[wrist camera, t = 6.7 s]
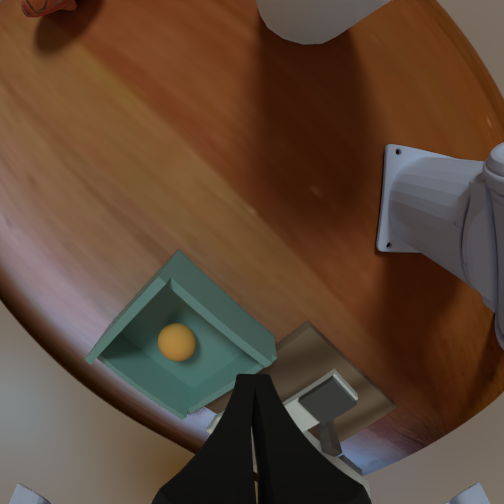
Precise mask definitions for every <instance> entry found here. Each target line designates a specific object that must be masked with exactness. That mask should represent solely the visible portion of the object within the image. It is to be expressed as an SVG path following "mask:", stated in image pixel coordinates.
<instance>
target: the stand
mask: <svg viewBox="0 0 504 504" xmlns="http://www.w3.org/2000/svg"><path fill="white" fill-rule="evenodd" d="M275 348H276V355H277V359H276V360H275V361H273V362H272V364H271V365H269V366H268V367H264V368H263V369H262V370H260V371H259V372H257V373H256V374H269V375H270V376H271V379H272V382H273V384H274V387H275V389H276V391H277V393H278V395H279V397H280V399H281V401H282V402H284V401H286V400H287V399H289V398H291V397H292V396H294V395H295V394H297V393H299V392H300V391H302V390H303V389H305V388H306V387H308V386H309V385H311V384H312V383H314V382H315V381H317V380H318V379H320V378H321V377H323V376H324V375H326V374H327V373H329V372H330V371H331V370H333V369H335V370H336V371H337V372H338V373H339V374H340V375H341V376H342V377H343V378H344V380H345V381H346V382H347V383H348V384H349V385H350V386H351V387H352V388H353V389H354V391H355V392H356V393H357V395H358V399H357V400H356V403H357V405H356V406H354V407H353V408H351V409H350V410H348V411H346V412H345V413H343V414H342V415H340V416H338V417H337V418H335V419H333V420H332V421H330V422H328V423H327V424H325V425H322V424H321V423H319V424H317V425H315V426H313V427H311V428H310V429H308V430H307V431H308V432H309V433H311V434H312V435H313V436H314V437H315V438H316V439H317V440H318V441H320V442H321V443H322V446H323V451H324V453H326V454H328V455H331V456H333V457H336V456H338V455H339V454H341V453H342V450H341V446H340V442H341V441H343V440H345V439H347V438H349V437H350V436H352V435H354V434H356V433H357V432H359V431H361V430H362V429H364V428H366V427H367V426H369V425H370V424H372V423H374V422H375V421H377V420H378V419H380V418H381V417H383V416H384V415H386V414H387V413H389V412H390V411H392V410H393V409H395V408H396V405H395V403H394V401H393V400H392V399H390V398H389V397H388V396H387V395H386V394H385V393H384V392H383V391H382V390H381V389H380V388H379V387H378V386H377V385H376V384H374V383H373V382H372V381H371V380H370V379H369V378H368V377H367V376H366V375H365V374H364V373H363V372H362V371H361V370H360V369H359V368H357V367H356V366H355V365H354V364H353V363H352V362H351V361H350V360H349V359H348V358H347V357H346V356H345V355H344V354H343V353H342V352H341V351H339V350H338V349H337V348H336V347H335V346H334V345H333V344H332V343H331V342H330V341H329V340H328V339H327V338H326V337H325V336H324V335H323V334H322V333H321V332H320V331H318V330H317V329H316V328H315V327H314V326H313V325H312V324H311V323H310V322H309V321H306V322H305V323H304V324H303V325H301V326H300V327H299V328H297V329H296V330H295V331H294V332H292V333H291V334H290V335H288V336H287V337H286V338H284V339H283V340H282V341H280V342H279V343H278V344H276V345H275ZM233 389H234V388H233ZM233 389H231V390H230V391H228V392H226V393H225V394H223V395H222V396H220V397H218V398H217V399H215V400H213V401H212V402H210V403H208V404H207V405H205V407H206V408H208V409H210V410H211V411H213V412H215V413H216V414H219V413H221V412H222V411H224V410H225V409H226V406H227V404H228V402H229V399H230V397H231V394H232V392H233Z"/></svg>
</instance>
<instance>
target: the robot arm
mask: <svg viewBox="0 0 504 504" xmlns="http://www.w3.org/2000/svg"><path fill="white" fill-rule="evenodd" d="M396 149H398V150H399V154H398V155H397V154H396ZM389 242H390V246H389V247H386V245H387V243H389ZM376 247H377V249H378V250H379V251H381V252H414V253H422V254H423V255H425V256H427V257H428V258H430V259H431V260H433V261H434V262H436V263H437V264H439V265H440V266H442V267H443V268H445V269H446V270H448V271H449V272H451V273H452V274H454V275H455V276H456V277H458V278H459V279H461V280H462V281H464V282H465V283H466V284H468V285H469V286H471V287H472V288H474V289H475V290H476V291H478V292H479V293H480V294H481V296H482V299H483V304H484V305H486V306H487V307H488V308H489V309H491V310H492V311H493V312H494V313H495V333H496V336H497V340H498V342H499V344H500V346H501V347H502V348H503V350H504V142H503V143H501V144H499V145H498V146H496V147H495V148H494V149H493V150H492V151H491V153H490V155H489V157H488V158H487V159H486V160H485V162H482V161H473V160H464V159H456V158H452V157H448V156H444V155H440V154H436V153H432V152H428V151H424V150H419V149H415V148H410V147H405V146H400V145H395V144H388V145H387V146H386V147H385V156H384V174H383V188H382V199H381V209H380V218H379V227H378V234H377V242H376ZM251 426H252V435H253V442H254V450H255V457H256V465H257V483H258V504H372V503H371V500H370V497H369V495H368V493H367V491H366V489H365V487H364V486H363V485H362V484H360V483H359V482H357V481H356V480H354V479H352V478H351V477H350V476H348V475H347V474H345V473H344V472H343V471H341V470H340V469H339V468H337V467H336V466H335V465H334V464H332V463H331V462H330V461H329V460H328V459H327V458H326V457H325V456H324V455H322V454H321V453H320V452H319V451H318V450H317V449H316V448H315V447H314V446H313V445H312V443H311V442H310V441H309V440H308V439H307V438H306V437H305V435H304V434H303V433H302V432H301V430H300V429H299V428H298V426H297V425H296V423H295V422H294V421H293V419H292V418H291V416H290V415H289V413H288V411H287V410H286V408H285V406H284V404H283V403H282V401H281V399H280V397H279V395H278V393H277V391H276V389H275V387H274V384H273V382H272V379H271V376H270V375H269V374H238V375H236V381H235V385H234V389H233V392H232V394H231V397H230V399H229V402H228V404H227V406H226V409H225V411H224V413H223V414H222V416H221V418H220V420H219V422H218V424H217V425H216V427H215V429H214V430H213V432H212V433H211V435H210V436H209V438H208V439H207V441H206V442H205V443H204V445H203V446H202V447H201V449H200V450H199V451H198V452H197V454H196V455H195V456H194V457H193V458H192V459H191V460H190V461H189V462H188V463H187V465H186V466H185V467H184V468H183V469H182V470H181V471H180V472H179V473H178V474H176V475H175V476H174V477H173V478H172V479H171V480H170V481H168V482H167V483H166V484H165V485H163V486H162V487H161V488H160V489H159V491H158V492H157V494H156V496H155V498H154V499H153V501H152V504H257V503H256V493H255V483H254V469H253V454H252V435H251ZM9 504H51V503H50V502H49V501H48V500H47V499H45V498H44V497H43V496H41V495H39V494H38V493H36V492H34V491H32V490H30V489H29V488H27V487H25V486H24V485H22V484H21V483H18V485H17V487H16V489H15V491H14V493H13V496H12V498H11V500H10V503H9ZM445 504H490V502H489V500H488V498H487V496H486V494H485V492H484V490H483V488H482V486H481V484H480V483H479V482H477V483H476V484H474V485H472V486H471V487H469V488H467V489H465V490H464V491H462V492H460V493H459V494H457V495H456V496H455V497H453V498H452V499H451V500H450V501H449V502H447V503H445Z"/></svg>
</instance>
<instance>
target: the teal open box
mask: <svg viewBox="0 0 504 504" xmlns="http://www.w3.org/2000/svg"><path fill="white" fill-rule="evenodd" d="M172 323H180V324H183V325H186V326H187V327H189V328H190V329H191V330H192V331H193V333H194V335H195V337H196V349H195V351H194V353H193V354H192V355H191V357H189V358H188V359H186V360H184V361H172V360H170V359H168V358H166V357H165V356H164V355H163V354H162V353H161V351H160V349H159V347H158V336H159V334H160V332H161V330H162V329H163V328H164V327H165V326H167V325H169V324H172ZM96 358H98V359H99V360H100V361H101V362H102V363H103V364H105V365H106V366H107V367H108V368H110V369H111V370H112V371H113V372H115V373H116V374H117V375H118V376H120V377H121V378H122V379H123V380H125V381H126V382H127V383H129V384H130V385H131V386H133V387H134V388H135V389H137V390H138V391H140V392H141V393H142V394H144V395H145V396H147V397H148V398H150V399H151V400H152V401H154V402H155V403H157V404H158V405H160V406H161V407H163V408H164V409H166V410H168V411H169V412H171V413H172V414H174V415H175V416H177V417H179V418H180V419H184V418H186V416H187V414H189V415H190V414H191V413H193V412H195V411H197V410H198V409H200V408H202V407H203V406H205V405H207V404H208V403H210V402H212V401H213V400H215V399H217V398H218V397H220V396H222V395H223V394H225V393H226V392H228V391H230V390H231V389H233V388H234V385H235V381H236V375H238V374H256V373H257V372H259V371H260V370H262V369H263V368H264V367H268V366H269V365H271V364H272V362H273V361H275V360H276V359H277V355H276V348H275V340H274V335H273V334H271V333H270V332H269V331H268V330H267V329H266V328H264V327H263V326H262V325H261V324H260V323H259V322H258V321H256V320H255V319H254V318H253V317H252V316H251V315H250V314H248V313H247V312H246V311H245V310H244V309H243V308H242V307H241V306H239V305H238V304H237V303H236V302H235V301H234V300H233V299H232V298H230V297H229V296H228V295H227V294H226V293H225V292H224V291H223V290H222V289H221V288H219V287H218V286H217V285H216V284H215V283H214V282H213V281H212V280H211V279H210V278H209V277H208V276H206V275H205V274H204V273H203V272H202V271H201V270H200V269H199V268H198V267H197V266H196V265H195V264H194V263H193V262H191V261H190V260H189V259H188V258H187V257H186V256H185V255H184V254H183V253H182V252H181V251H180V250H179V249H178V250H177V251H176V252H175V253H174V254H173V256H172V257H171V258H170V259H169V260H168V261H167V262H166V263H165V264H164V265H163V266H162V267H161V268H160V269H159V270H158V271H157V273H156V274H155V275H154V276H153V277H152V278H151V279H150V280H149V281H148V282H147V283H146V284H145V286H144V287H143V288H142V289H141V290H140V291H139V292H138V293H137V294H136V295H135V297H134V298H133V299H132V300H131V301H130V302H129V303H128V304H127V306H126V307H125V308H124V309H123V310H122V311H121V312H120V313H119V315H118V316H117V317H116V318H115V319H114V320H113V321H112V323H111V324H110V325H109V326H108V328H107V329H106V330H105V332H104V333H103V334H102V336H101V337H100V338H99V340H98V341H97V343H96V344H95V345H94V347H93V348H92V350H91V351H90V352H89V354H88V355H87V357H86V358H85V360H86V361H87V362H88V363H89V364H92V362H93V361H94V360H95V359H96Z"/></svg>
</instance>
